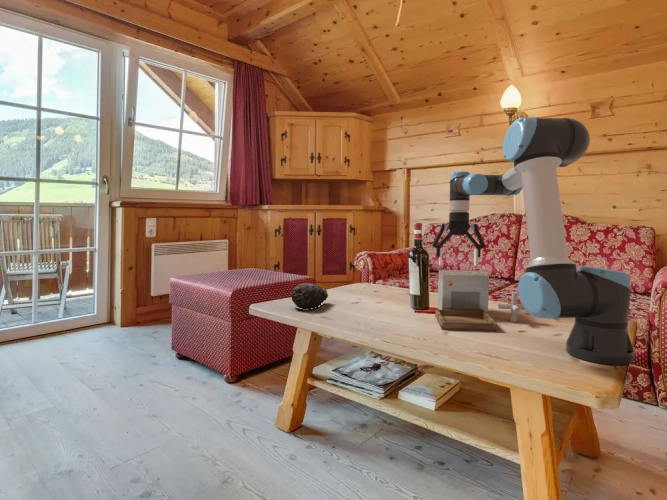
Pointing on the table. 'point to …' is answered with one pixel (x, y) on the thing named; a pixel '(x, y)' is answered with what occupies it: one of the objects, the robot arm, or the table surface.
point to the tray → (465, 320)
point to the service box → (463, 290)
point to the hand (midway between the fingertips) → (457, 265)
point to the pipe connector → (512, 306)
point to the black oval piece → (308, 295)
